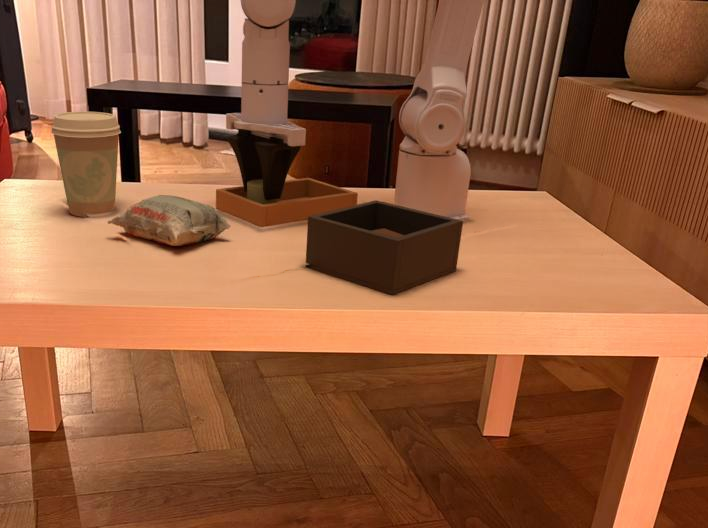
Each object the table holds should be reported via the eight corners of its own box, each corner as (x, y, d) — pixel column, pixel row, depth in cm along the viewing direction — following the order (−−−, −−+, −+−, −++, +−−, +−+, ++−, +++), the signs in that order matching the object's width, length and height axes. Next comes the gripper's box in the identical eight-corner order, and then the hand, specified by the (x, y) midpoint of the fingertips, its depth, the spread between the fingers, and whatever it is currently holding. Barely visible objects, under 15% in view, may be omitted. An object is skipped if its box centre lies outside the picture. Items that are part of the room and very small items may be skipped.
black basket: (371, 246, 91) (375, 199, 88) (456, 270, 84) (463, 220, 81) (305, 266, 83) (307, 216, 81) (392, 295, 76) (398, 240, 74)
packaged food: (177, 260, 84) (176, 215, 81) (107, 238, 90) (105, 195, 88) (232, 245, 90) (232, 202, 87) (163, 225, 96) (162, 185, 94)
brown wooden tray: (307, 198, 111) (308, 177, 110) (356, 215, 104) (358, 192, 102) (215, 211, 103) (215, 189, 102) (261, 230, 95) (261, 206, 94)
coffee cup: (46, 216, 98) (36, 118, 92) (76, 201, 105) (68, 109, 100) (109, 222, 96) (103, 122, 91) (135, 206, 104) (130, 113, 98)
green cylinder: (265, 208, 103) (266, 178, 102) (283, 215, 100) (284, 184, 99) (240, 211, 101) (241, 181, 99) (258, 218, 98) (258, 187, 97)
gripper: (205, 77, 97) (206, 186, 103) (273, 90, 86) (269, 211, 92) (252, 76, 100) (250, 181, 107) (322, 88, 90) (315, 204, 96)
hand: (262, 195), depth 100 cm, fingers closed on green cylinder, 4 cm apart
